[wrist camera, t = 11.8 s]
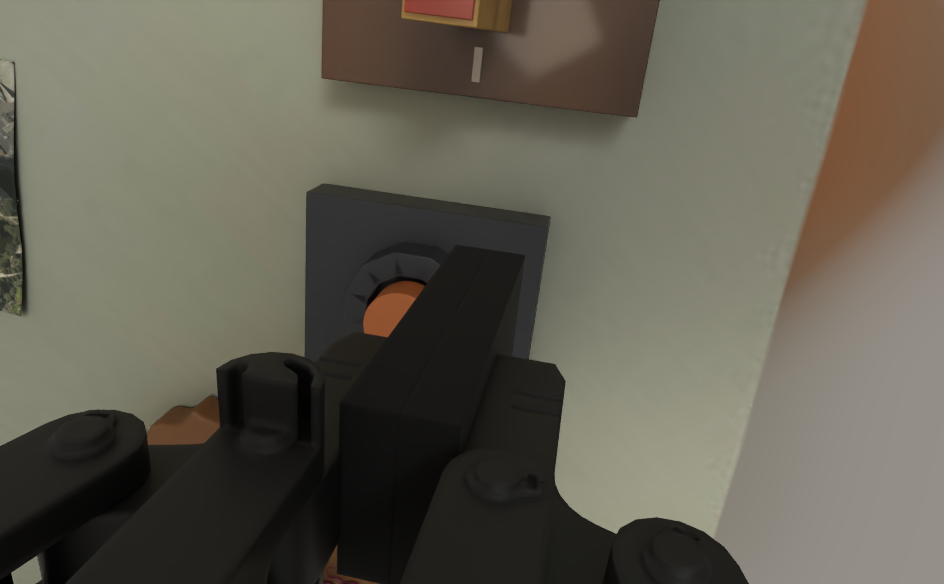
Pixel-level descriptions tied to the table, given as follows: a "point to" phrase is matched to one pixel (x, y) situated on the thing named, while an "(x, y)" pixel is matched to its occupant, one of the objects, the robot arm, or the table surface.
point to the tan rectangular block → (461, 13)
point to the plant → (197, 429)
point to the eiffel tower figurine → (8, 200)
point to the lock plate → (499, 52)
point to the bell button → (390, 307)
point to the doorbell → (402, 254)
